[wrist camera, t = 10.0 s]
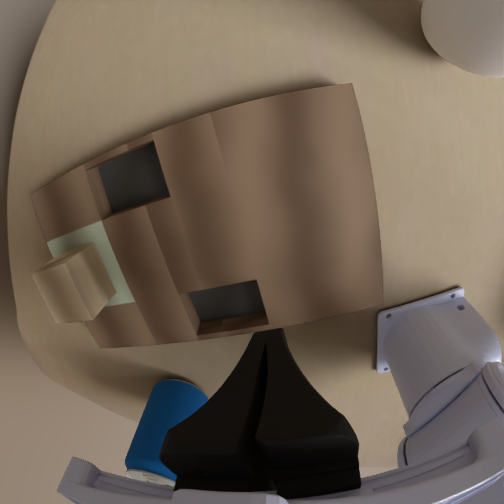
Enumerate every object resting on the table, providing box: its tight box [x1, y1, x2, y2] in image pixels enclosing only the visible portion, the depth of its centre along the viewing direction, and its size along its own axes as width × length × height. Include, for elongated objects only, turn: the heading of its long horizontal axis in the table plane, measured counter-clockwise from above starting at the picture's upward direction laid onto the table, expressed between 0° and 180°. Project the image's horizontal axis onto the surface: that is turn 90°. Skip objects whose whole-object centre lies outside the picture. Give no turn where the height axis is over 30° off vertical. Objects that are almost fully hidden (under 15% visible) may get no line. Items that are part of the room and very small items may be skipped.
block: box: [31, 242, 116, 324], centre depth 19 cm, size 4×4×4 cm
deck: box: [31, 83, 383, 348], centre depth 20 cm, size 26×16×2 cm, turn 104°
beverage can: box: [125, 379, 209, 487], centre depth 23 cm, size 6×6×12 cm
